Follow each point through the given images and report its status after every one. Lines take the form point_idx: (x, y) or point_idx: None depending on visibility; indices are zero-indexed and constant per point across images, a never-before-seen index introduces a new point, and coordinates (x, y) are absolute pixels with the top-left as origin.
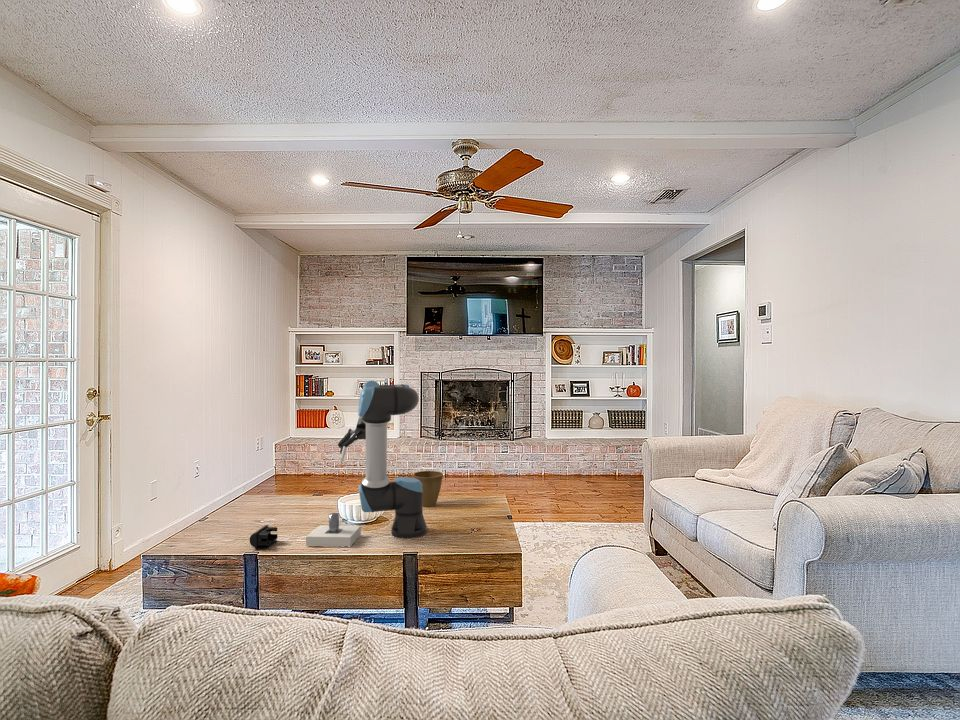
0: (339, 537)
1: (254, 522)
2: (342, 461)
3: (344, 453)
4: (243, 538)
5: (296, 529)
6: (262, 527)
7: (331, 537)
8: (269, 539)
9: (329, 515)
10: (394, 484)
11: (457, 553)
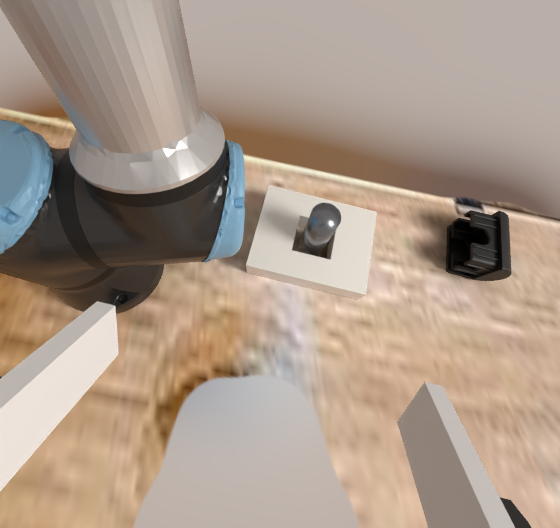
0: (294, 191)
1: None
2: (406, 422)
3: (444, 512)
4: (538, 311)
5: (432, 361)
6: (507, 253)
7: (314, 197)
8: (465, 258)
9: (337, 208)
10: (64, 156)
11: (39, 117)
